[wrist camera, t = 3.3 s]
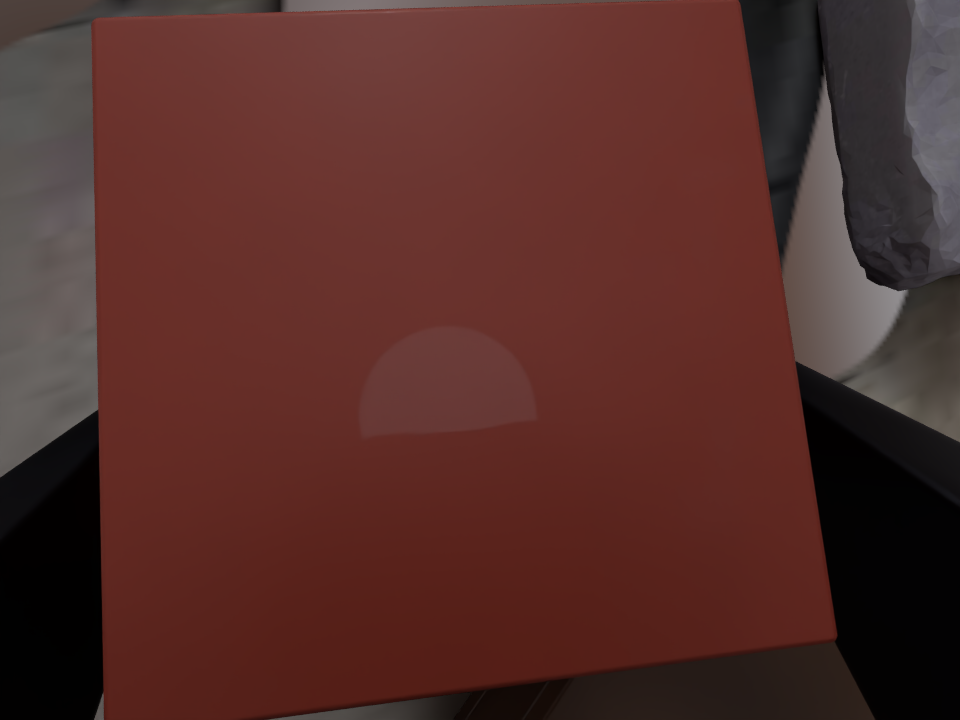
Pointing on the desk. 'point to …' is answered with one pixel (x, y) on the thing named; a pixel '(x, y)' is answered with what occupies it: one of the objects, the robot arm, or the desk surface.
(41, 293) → the desk surface
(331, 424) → the pillar block
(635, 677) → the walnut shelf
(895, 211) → the stone block
